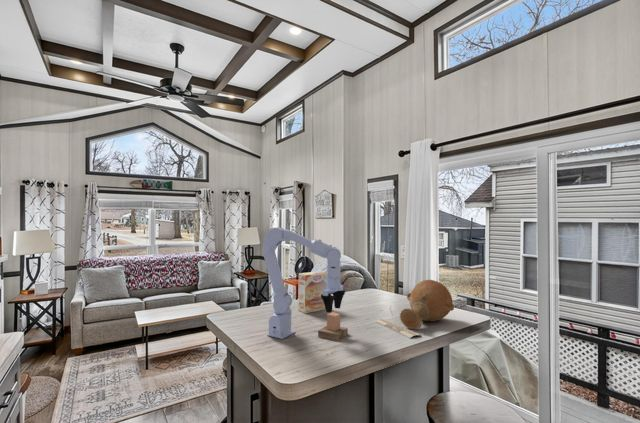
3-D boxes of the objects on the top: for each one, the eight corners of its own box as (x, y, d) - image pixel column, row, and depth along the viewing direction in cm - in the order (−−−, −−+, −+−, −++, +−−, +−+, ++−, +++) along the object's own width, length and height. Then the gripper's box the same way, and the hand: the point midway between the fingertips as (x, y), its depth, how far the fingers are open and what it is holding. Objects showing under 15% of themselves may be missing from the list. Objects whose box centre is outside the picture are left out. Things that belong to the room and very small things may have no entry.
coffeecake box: (304, 313, 165) (305, 274, 166) (297, 310, 171) (297, 273, 171) (328, 309, 174) (328, 272, 174) (320, 306, 179) (320, 270, 180)
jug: (466, 296, 154) (443, 317, 131) (443, 322, 162) (418, 347, 140) (431, 268, 164) (404, 283, 141) (412, 294, 172) (383, 312, 149)
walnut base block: (338, 342, 127) (338, 334, 128) (318, 337, 132) (318, 330, 132) (347, 335, 135) (347, 328, 135) (328, 331, 140) (328, 324, 140)
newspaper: (421, 338, 133) (421, 333, 133) (408, 340, 130) (408, 336, 130) (386, 322, 154) (386, 318, 155) (373, 323, 151) (373, 320, 151)
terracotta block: (334, 331, 131) (335, 316, 131) (326, 328, 134) (327, 314, 134) (340, 328, 135) (340, 313, 135) (331, 326, 137) (332, 312, 137)
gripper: (334, 280, 126) (333, 316, 126) (349, 275, 139) (349, 307, 138) (318, 278, 130) (317, 313, 129) (334, 273, 142) (334, 305, 142)
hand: (333, 310), depth 134 cm, fingers open, 7 cm apart
